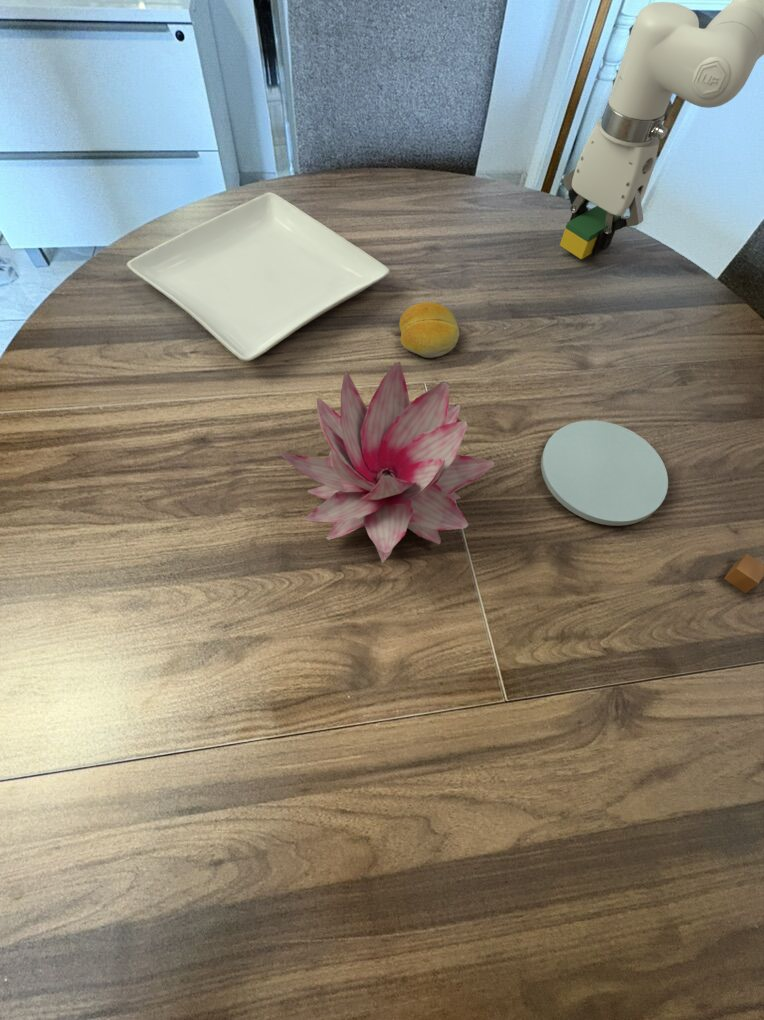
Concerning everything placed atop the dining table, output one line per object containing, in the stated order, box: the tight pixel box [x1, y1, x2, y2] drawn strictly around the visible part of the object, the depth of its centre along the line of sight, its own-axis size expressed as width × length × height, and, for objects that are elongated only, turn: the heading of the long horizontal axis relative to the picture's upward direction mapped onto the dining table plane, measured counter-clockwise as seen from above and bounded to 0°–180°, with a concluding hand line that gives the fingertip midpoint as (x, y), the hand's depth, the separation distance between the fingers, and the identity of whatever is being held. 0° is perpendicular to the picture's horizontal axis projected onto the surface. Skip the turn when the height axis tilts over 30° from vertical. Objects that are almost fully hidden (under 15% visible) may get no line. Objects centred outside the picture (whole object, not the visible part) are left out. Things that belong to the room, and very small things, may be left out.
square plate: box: [125, 192, 391, 362], centre depth 89 cm, size 27×27×4 cm
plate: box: [540, 419, 669, 527], centre depth 74 cm, size 15×15×2 cm
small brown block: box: [723, 552, 764, 594], centre depth 67 cm, size 3×3×3 cm
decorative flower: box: [279, 361, 495, 564], centre depth 65 cm, size 21×21×15 cm
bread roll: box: [398, 301, 460, 359], centre depth 85 cm, size 8×9×4 cm
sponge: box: [559, 205, 607, 260], centre depth 97 cm, size 8×4×4 cm, turn 131°
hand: (586, 242), depth 98 cm, fingers closed on sponge, 4 cm apart
